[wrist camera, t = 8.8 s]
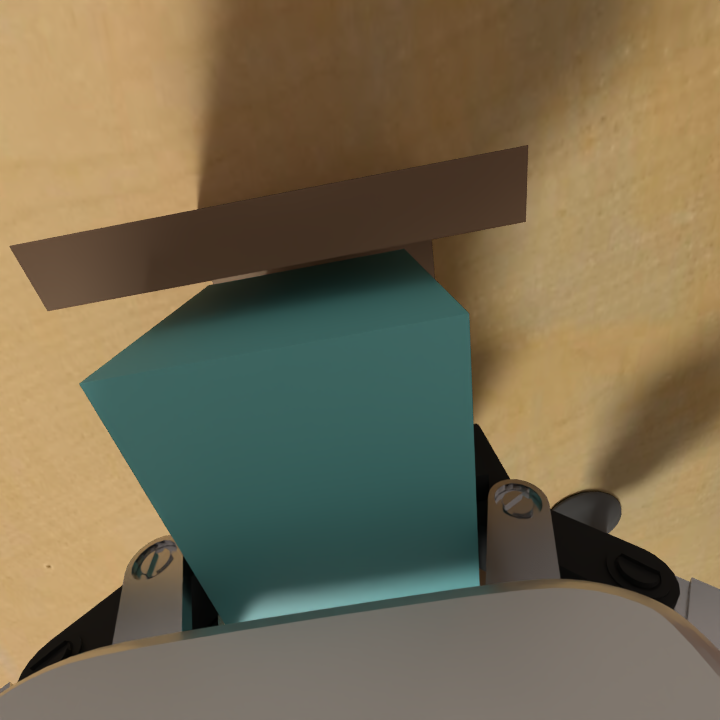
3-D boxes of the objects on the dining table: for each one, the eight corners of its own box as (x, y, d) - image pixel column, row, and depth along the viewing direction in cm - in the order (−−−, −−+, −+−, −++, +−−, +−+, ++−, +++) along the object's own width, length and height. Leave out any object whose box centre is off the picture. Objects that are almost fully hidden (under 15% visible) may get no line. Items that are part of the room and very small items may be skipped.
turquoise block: (208, 285, 11) (78, 383, 5) (404, 248, 11) (469, 313, 5) (303, 544, 16) (285, 723, 11) (435, 522, 16) (483, 694, 11)
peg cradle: (446, 471, 21) (512, 651, 13) (296, 496, 21) (269, 686, 13) (420, 166, 14) (528, 141, 6) (197, 210, 14) (7, 242, 6)
